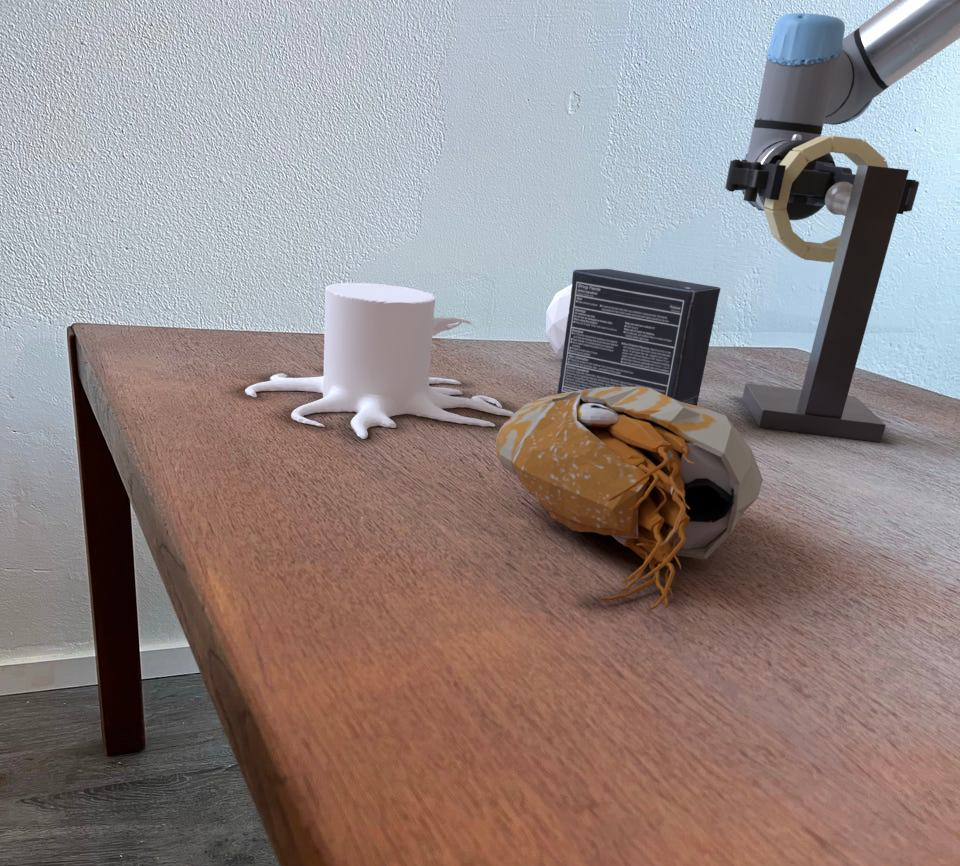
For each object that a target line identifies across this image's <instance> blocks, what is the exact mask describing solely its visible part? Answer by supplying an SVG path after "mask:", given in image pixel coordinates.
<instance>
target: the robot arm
mask: <svg viewBox="0 0 960 866" xmlns="http://www.w3.org/2000/svg"><path fill="white" fill-rule="evenodd" d="M845 31H846V24H845V22H844V21H843V20H842V18H839V17H836V16H833V15H832V16H831V15H826V14H818V13H806V12H805V13H803V12H794V13H793V12H792V13H786V14H783V15H781V16H780V17H778V19H777V20H776V22H775V24H774V27H773V31H772V35H771V39H770V43H769V46H768V49H767V50H766V62H765V66H764V71H763V78H762V83H761V87H760V92H759V97H758V103H757V108H756V114H755V119H754V123H753V127H752V131H751V135H750V139H749V145H748V149H747V150H748V151H747V153H746V154H745V157H744V158H743V159H736V158H734V159H732V160H730V161H729V166H728V171H727V177H726V182H725V188H724V189H725V190H726V191H728V192H732V193H733V192H735V191H741V193H742V195H743V199H742V200H743V201H744V202H747V203H748V204H749V205H751V206H752V207H753V208H756V209H757V210H758V211H761V212H765V211H764V208H766V207H764V203H765V198H768V199H773V200H779V195H780V191H781V186H782V181H783V177H784V172H785V168H786V166H784V165H779V164H780V163H781V162H782V160H783V159H784V158H785V157H786V155H787V154H788V153H789V152H790V151H793V150H792V149H793V148H795V147H798V146H800V145H802V144H804V143H806V142H808V141H810V140H813V139H815V138H817V137H822V134H823V133H822V132H823V128H824V125H831V126H838V125H841V124H846V123H850V122H852V121H854V120H856V119H858V118H859V117H861V115H863V114H864V113H865V112H866V110H867V109H868V108H869V107H870V105H871V103H872V101H873V100H874V98H876V97H877V96H879V95H881V94H882V93H883V92H884V91H885V90H887V89H888V88H889V87H891V86H892V85H894V84H896V83H897V82H898V81H901V79H903V78H905V77H906V76H907V75H909V74H910V73H911V72H913V71H914V70H915V69H917V68H919V67H920V66H922V65H923V64H924V63H926V62H927V61H929V60H931V58H933V57H935V56H936V55H938V54H939V53H940V52H941V51H944V49H946V48H947V47H949V46H951V45H952V44H953V43H955V42H956V41H958V40H959V39H960V0H892V1H891V2H890V3H889V4H887V5H886V6H885V7H884V8H882V9H880V10H879V11H878V12H877V13H875V14H874V15H872V17H870V18H869V19H868V20H866V21H865V22H864V23H862V24H861V25H860V26H858V28H857V29H854V31H852V32H850V33H849V34H848V35H846V36H845ZM844 36H845V37H844ZM855 176H856V173H855V174H854V173H853V170H852V168H850V167H846V166H845V167H844V166H837V165H836V163H835V159H834V158H833V155H832V154H831V152H830V153H828V154H826V155H824V156H822V157H819V158H817V159H815V160H813V161H811V162H809V163H808V164H807V165H806V166H805V168H804V169H803V170H802V171H801V173H800V174H799V175H798V176H797V178H796V179H795V180H794V181H793V183H792V185H791V189H790V194H789V198H788V203H787V207H786V210H787V213H788V217H789V220H790V221H801V220H806V219H808V218H809V217H812V216H814V215H815V214H817V213H818V212H819V211H821V210H822V209H823V208H824V207H825V206H826V205H825V196H826V193H827V191H828V190H829V189H830V187H831V186H833V185H834V184H836V183H838V182H848V183H850V184H852V185H853V184H854V180H855ZM919 186H920V181H918V180H916V179H908V178H907V179H906V183H905V187H904V190H903V194H902V198H901V201H900V205H899V209H898V212H897V215H904V212H905V213H908V212H912V211H913V207H914V203H915V200H916V197H917V192H918V189H919Z"/></svg>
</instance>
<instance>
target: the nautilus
mask: <svg viewBox="0 0 960 866" xmlns="http://www.w3.org/2000/svg"><path fill="white" fill-rule="evenodd" d="M513 413H514V414H513V415H512V416H511V417H510V416H509V418H508V419H507V420H506V421H505V422H504V423H503V424H502V426H501V427H500V428H499V431H498V432H497V434H496V437H495V446H494V447H495V449H494V451H495V453H496V456H497V458H498V461H499V462H500V464H501V466H502V467H503V469H505V470H507V471H508V472H510V473H511V474H512V475H515V476H516V477H517V479H518V481H519V482H520V483H521V485H522V486H523V487H524V488H525V489H526V490H527V491H528V492H529V493H530V494H531V496H532V497H533V498H535V499H536V500H537V502H538V503H540V505H542V506H543V507H544V508H545V509H546V510H547V512H548V515H549V517H550V519H552V520H554V521H556V522H558V523H560V524H562V525H564V526H566V527H567V528H568V529H569V530H571V531H572V532H579V533H595V534H598V535H599V534H600V535H603V536H611V537H612V538H613V539H615V540H616V541H617V542H618V543H620V544H621V545H623V547H627V548H629V549H630V550H631V551H632V552H634V553H635V554H636V555H637V556H639V557H640V558H641V559H642V560H644V561H643V564H642V565H640V567H638V568H637V569H636V570H635V571H634V572H632V574H630V575H629V576H628V577H627V578H626V579H623V580H622V581H621V583H622V584H625V583H628V582H630V581H631V580H632V579H633V580H632V581H631V582H630V583H629V584H627V586H626V587H624V588H622V589H620V592H623V593H621V594H618V595H614V596H611V597H607V598H605V597H604V598H603V597H601V598H600V601H607V602H609V601H614V600H617V599H623V598H626V597H629V596H632V595H633V594H636V593H638V592H640V591H642V590H643V589H646V588H647V587H649V586H651V585H653V584H655V586H656V588H657V589H659V590H660V592H661V596H660V597H659V598H658V600H657V601H656V603H655V604H654V605H652V606H651V607H650V608H648V610H649V611H652V610H655V609H656V608H657V607H659V605H660V604H662V602H663V601H664V603H665V608H666V609H668V608H669V607H668V606H669V599H668V593H670V597H671V600H674V593H673V590H672V587H671V585H672V583H673V580H674V578H675V575H676V570H675V566H674V564H673V563H671V561H673V559H675V561H676V563H677V565H678V566H679V569H680V570H681V569H682V565H681V562H680V560H679V558H678V557H685V558H691V559H692V558H693V559H697V560H698V559H699V560H704V561H705V560H707V559H708V558H709V557H710V556H711V555H712V554H713V553H714V551H716V550H717V549H718V548H719V547H720V545H722V543H724V542H725V541H726V540H727V538H729V536H730V535H732V533H733V531H734V529H735V527H736V526H737V524H738V523H739V521H740V518H741V517H742V515H743V514H744V513H745V512H746V511H747V510H748V509H749V508H750V507H751V506H752V505H753V504H754V503H755V502H756V500H758V499H759V495H760V492H761V488H762V484H763V481H764V479H763V476H762V473H761V470H760V468H759V466H758V463H757V460H756V458H755V455H754V452H753V450H752V447H750V445H749V444H748V442H747V441H746V440H745V439H744V437H743V436H742V434H741V433H739V430H737V428H736V427H735V426H734V424H733V423H732V422H731V420H730V419H729V418H728V417H727V415H725V414H723V413H720V412H717V411H715V410H712V409H709V408H706V407H703V406H699V405H697V406H695V405H691V404H687V403H683V402H680V401H677V400H675V399H672V398H670V397H668V396H666V395H664V394H662V393H659V392H657V391H655V390H653V389H651V388H647V387H601V388H592V389H586V390H579V391H573V392H567V393H561V394H557V393H556V394H550V395H546V396H543V397H541V398H538V399H535V400H532V401H529V402H527V403H526V404H524V405H523V406H522V407H520V408H519V409H518V410H517V411H515V412H513ZM677 556H678V557H677ZM648 565H649V569H650V571H649V572H648V573H647V574H645V575H643V573H644V572H645V570H646V569H647V567H648ZM656 565H657V566H656ZM664 567H665V568H666V571H665V573H664V584H665V587H663V586H662V585H661V582H660V581H661V580H660V575H661V574H660V572H661V571H660V570H661V569H663V568H664ZM669 571H670V573H669ZM668 574H669V576H668ZM642 575H643V576H642ZM651 576H653V577H652V578H651V579H649V578H650V577H651ZM639 579H640V580H646V579H649V580H648V581H646V582H644V583H641V584H640V585H638V586H636V587H635V588H632V589H631V590H629V589H630V588H631V587H633V585H635V584H636V583H637V582H638V581H639ZM627 590H629V591H627ZM624 591H627V592H624Z"/></svg>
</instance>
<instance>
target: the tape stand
mask: <svg viewBox="0 0 960 866" xmlns="http://www.w3.org/2000/svg"><path fill="white" fill-rule="evenodd" d="M909 172H910V169H904V168H896V167H888V168H887V167H878V166H870V165H860V164H859V165H858V166H857V168H856V172H855V175H856V176H855V180H854V184H853V185H852V184H850V183H848V182H838V183H836V184H834V185H833V186H831V187H830V189H829V190H828V191H827V193H826V196H825V205H824V206H825V208H826V209H827V211H829V213H831V214H832V215H835V216H843V217H844V219H843V222H842V223H843V224H842V227H841V231H840V234H839V236H840V239H839V243H838V247H837V251H836V255H835V259H834V262H833V264H832V268H831V272H830V276H829V279H828V284H827V288H826V292H825V295H824V300H823V302H822V303H823V305H822V307H821V312H820V316H819V320H818V324H817V328H816V332H815V336H814V339H813V344H812V348H811V351H810V355H809V360H808V364H807V368H806V372H805V375H804V379H803V384H802V387H801V389H798V388H791V387H781V386H774V385H766V384H758V383H749V382H746V383H745V384H744V389H743V393H742V398H741V399H742V401H743V403H744V404H745V406H746V408H747V410H748V411H749V413H750V415H751V416H752V418H753V419H754V422H756V424H757V426H758V427H759V428H760V429H767V430H775V431H782V432H783V431H784V432H790V433H791V432H793V433H801V434H807V435H808V434H809V435H817V436H824V437H834V438H840V439H849V440H857V441H866V442H874V443H881V441H882V439H883V435H884V432H885V428H886V424H885V423H884V422H883V421H882V420H881V419H880V418H879V417H878V416H877V415H876V414H874V412H872V411H871V409H869V408H868V406H866V404H864V403H863V402H862V401H861V400H860V399H859V398H858V396H855V395H849V392H850V388H851V384H852V381H853V378H854V374H855V369H856V366H857V362H858V358H859V356H860V355H859V354H860V353H861V352H860V351H861V347H862V344H863V340H864V337H865V333H866V330H867V327H868V326H867V325H868V323H869V322H868V321H869V320H870V319H869V318H870V314H871V311H872V307H873V304H874V300H875V296H876V293H877V289H878V285H879V282H880V278H881V275H882V274H881V273H882V270H883V266H884V263H885V260H886V255H887V253H888V248H889V244H890V242H891V237H892V234H893V230H894V226H895V223H896V219H897V216H898V214H897V212H898V209H899V205H900V201H901V198H902V194H903V190H904V187H905V183H906V179H908V175H909Z"/></svg>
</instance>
